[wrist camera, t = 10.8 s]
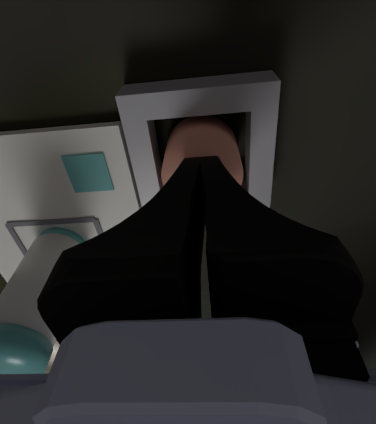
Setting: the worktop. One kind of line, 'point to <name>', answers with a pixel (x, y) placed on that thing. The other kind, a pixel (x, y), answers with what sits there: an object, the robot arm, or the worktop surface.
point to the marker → (30, 305)
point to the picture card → (62, 184)
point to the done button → (202, 145)
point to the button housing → (199, 106)
